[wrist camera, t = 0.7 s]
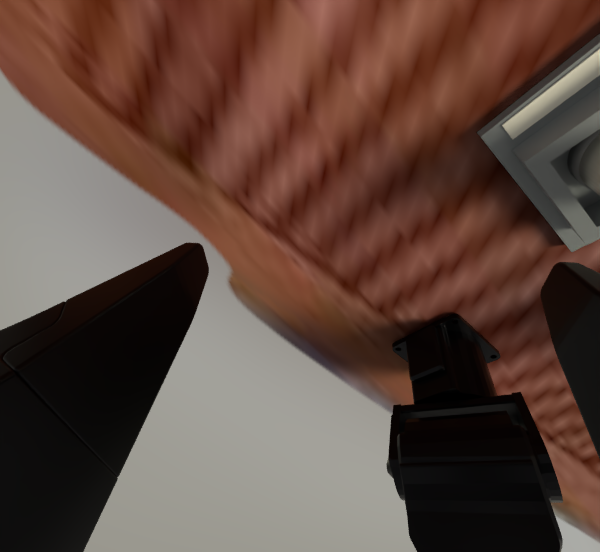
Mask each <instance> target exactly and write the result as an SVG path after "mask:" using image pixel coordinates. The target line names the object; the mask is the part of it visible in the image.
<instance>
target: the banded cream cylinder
mask: <svg viewBox="0 0 600 552" xmlns="http://www.w3.org/2000/svg"><path fill="white" fill-rule="evenodd" d="M567 165H568V169H569V172H570V174H571V175H572V176H573V177H574V178H575V179H576V180H577V181H579V182H580V183H581V184H582V185H583V186H585V187H586V188H588V189H590V190H593V191H594V192H596V193H597V194H598V195H599V196H600V129H599V130H597V131H596V132H594V133H593V134H591V135H590V136H588V137H587V138H585V139H584V140H582V141H581V142H579V143H578V144H576V145H575V146H573V147H572V148H571V149H570V151H569V154H568V159H567Z"/></svg>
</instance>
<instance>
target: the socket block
mask: <svg viewBox="0 0 600 552" xmlns="http://www.w3.org/2000/svg"><path fill="white" fill-rule="evenodd" d="M599 129H600V34H598V35H597V36H596V37H595V38H593V39H592V40H591V41H590V42H589V43H587V44H586V45H585V46H584V47H582V48H581V49H580V50H579V51H577V52H576V53H575V54H574V55H572V56H571V57H570V58H569V59H567V60H566V61H565V62H564V63H562V64H561V65H560V66H559V67H557V68H556V69H555V70H554V71H552V72H551V73H550V74H549V75H548V76H546V77H545V78H544V79H543V80H541V81H540V82H539V83H538V84H536V85H535V86H534V87H533V88H531V89H530V90H529V91H528V92H526V93H525V94H524V95H523V96H521V97H520V98H519V99H518V100H516V101H515V102H514V103H513V104H512V105H510V106H509V107H508V108H507V109H505V110H504V111H503V112H502V113H500V114H499V115H498V116H497V117H495V118H494V119H493V120H492V121H490V122H489V123H488V124H487V125H485V126H484V127H483V128H482V129H480V130H479V131H478V132H477V133H478V135H479V136H480V137H481V138H482V140H483V141H484V142H485V144H486V145H487V146H488V147H489V149H490V150H491V151H492V152H493V154H494V155H495V156H496V157H497V159H498V160H499V161H500V162H501V164H502V165H503V166H504V168H505V169H506V170H507V171H508V173H509V174H510V175H511V176H512V178H513V179H514V180H515V181H516V183H517V184H518V185H519V186H520V188H521V189H522V190H523V192H524V193H525V194H526V195H527V197H528V198H529V199H530V200H531V202H532V203H533V204H534V205H535V207H536V208H537V209H538V210H539V212H540V213H541V214H542V215H543V217H544V218H545V219H546V221H547V222H548V223H549V224H550V226H551V227H552V228H553V229H554V231H555V232H556V233H557V234H558V236H559V237H560V238H561V239H562V241H563V242H564V243H565V245H566V246H567V247H568V248H569V249H570V251H571V252H573V251H575V250H577V249H579V248H581V247H583V246H585V245H588V244H590V243H592V242H594V241H596V240H598V239H600V196H599V195H598V194H597V193H596V192H594V191H593V190H590V189H588V188H586V187H585V186H583V185H582V184H581V183H580V182H579V181H577V180H576V179H575V178H574V177H573V176H572V175H571V174H570V172H569V169H568V165H567V159H568V154H569V151H570V149H571V148H572V147H573V146H575V145H576V144H578V143H579V142H581V141H582V140H584V139H585V138H587V137H588V136H590V135H591V134H593V133H594V132H596V131H597V130H599Z"/></svg>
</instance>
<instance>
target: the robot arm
mask: <svg viewBox="0 0 600 552" xmlns="http://www.w3.org/2000/svg"><path fill="white" fill-rule="evenodd" d="M208 273H209V267H208V263H207V260H206V256H205V252H204V249H203V247H202V245H201V244H199V243H185V244H183V245H181V246H178V247H176V248H174V249H172V250H170V251H168V252H166V253H164V254H162V255H160V256H158V257H156V258H153V259H151V260H149V261H148V262H145V263H143V264H141V265H139V266H137V267H135V268H133V269H131V270H128V271H126V272H124V273H122V274H120V275H118V276H116V277H114V278H112V279H110V280H108V281H106V282H103V283H101V284H99V285H97V286H95V287H93V288H91V289H89V290H87V291H85V292H83V293H81V294H78V295H76V296H74V297H72V298H70V299H68V300H67V301H66V302H62V303H60V304H57V305H55V306H53V307H51V308H49V309H48V310H45V311H43V312H41V313H38V314H36V315H34V316H32V317H30V318H28V319H25V320H23V321H21V322H19V323H16V324H14V325H12V326H9V327H7V328H5V329H3V330H0V552H83V551H84V549H85V547H86V545H87V543H88V541H89V538H90V536H91V534H92V532H93V530H94V528H95V526H96V524H97V522H98V519H99V517H100V515H101V513H102V511H103V509H104V507H105V505H106V503H107V500H108V498H109V496H110V494H111V492H112V490H113V488H114V486H115V484H116V482H117V479H118V478H117V477H118V476H119V475H120V473H121V470H122V468H123V466H124V464H125V462H126V460H127V458H128V456H129V453H130V451H131V449H132V447H133V445H134V443H135V441H136V439H137V437H138V435H139V432H140V430H141V428H142V426H143V424H144V422H145V420H146V418H147V415H148V413H149V411H150V409H151V407H152V405H153V403H154V401H155V399H156V396H157V394H158V392H159V390H160V388H161V386H162V384H163V382H164V379H165V378H166V375H167V373H168V371H169V369H170V367H171V365H172V362H173V360H174V359H175V356H176V354H177V352H178V350H179V348H180V346H181V344H182V342H183V340H184V337H185V335H186V333H187V331H188V329H189V327H190V325H191V323H192V320H193V318H194V315H195V312H196V310H197V306H198V304H199V301H200V298H201V295H202V292H203V289H204V286H205V283H206V280H207V277H208ZM541 301H542V305H543V308H544V312H545V316H546V319H547V323H548V327H549V330H550V334H551V338H552V341H553V345H554V348H555V351H556V354H557V356H558V359H559V362H560V364H561V367H562V369H563V371H564V374H565V376H566V379H567V381H568V383H569V386H570V388H571V391H572V393H573V396H574V398H575V400H576V403H577V405H578V408H579V410H580V412H581V415H582V417H583V420H584V422H585V425H586V427H587V429H588V432H589V434H590V437H591V439H592V441H593V444H594V446H595V449H596V451H597V453H598V456H599V458H600V273H598V272H596V271H594V270H592V269H590V268H587V267H585V266H583V265H581V264H579V263H569V262H559V263H557V264H555V265H554V266H553V268H552V270H551V272H550V274H549V275H548V277H547V279H546V281H545V283H544V285H543V287H542V289H541ZM453 320H454V321H453ZM398 347H399V348H398ZM392 348H393V351H394V352H395V353H397V354H398V355H399V356H400V357H402V358H403V359H404V360H406V361H407V362H408V366H409V375H410V380H411V382H412V390H413V399H414V404H412V405H402V406H401V404H400V405H393V415H392V416H391V429H390V444H389V458H388V461H387V471H388V473H389V474H390V475H391V476H392V477H393V478H394V482H395V486H396V489H397V492H398V494H399V496H400V498H401V499H402V500H405V504H406V510H407V516H408V527H409V536H410V538H411V541H412V542H413V544H414V546H415V548H416V550H417V552H561V549H562V536H561V532H560V529H559V527H558V523H557V521H556V518H555V515H554V512H553V509H552V506H551V503H550V502H561V503H563V499H562V494H561V490H560V487H559V483H558V480H557V477H556V474H555V471H554V468H553V465H552V462H551V460H550V457H549V454H548V452H547V449H546V447H545V445H544V442H543V440H542V438H541V435H540V433H539V431H538V429H537V427H536V425H535V422H534V420H533V418H532V416H531V414H530V411H529V409H528V407H527V405H526V403H525V401H524V398H523V396H522V394H521V392H517V393H512V394H511V395H501V396H497V393H496V390H495V387H494V384H493V381H492V378H491V375H490V372H489V369H488V366H487V363H490V362H492V361H495V360H497V359H499V358H500V354H499V351H498V350H497V349H496V348H495V347H494V346H492V345H491V344H490V343H489V342H488V341H487V340H486V339H485V338H484V337H483V336H482V335H480V334H479V333H478V332H477V331H476V330H475V329H474V328H473V327H472V326H471V325H470V324H468V323H467V322H466V321H465V320H464V319H463V318H462V317H461V316H460V315H458V314H452V315H449V316H447V317H445V318H443V319H441V320H439V321H437V322H435V323H433V324H431V325H429V326H427V327H425V328H423V329H421V330H419V331H417V332H415V333H413V334H411V335H409V336H407V337H405V338H403V339H401V340H399V341H397V342H395V343H394V344H393V345H392Z"/></svg>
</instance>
